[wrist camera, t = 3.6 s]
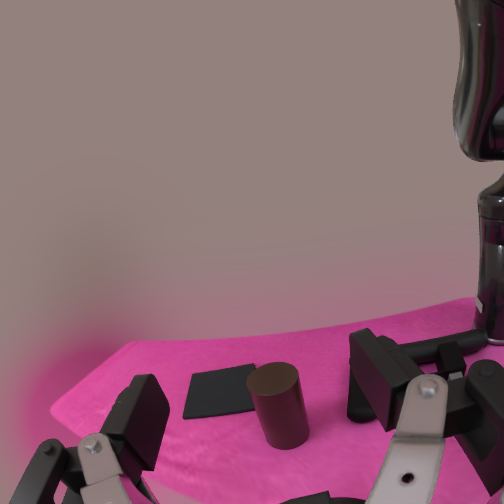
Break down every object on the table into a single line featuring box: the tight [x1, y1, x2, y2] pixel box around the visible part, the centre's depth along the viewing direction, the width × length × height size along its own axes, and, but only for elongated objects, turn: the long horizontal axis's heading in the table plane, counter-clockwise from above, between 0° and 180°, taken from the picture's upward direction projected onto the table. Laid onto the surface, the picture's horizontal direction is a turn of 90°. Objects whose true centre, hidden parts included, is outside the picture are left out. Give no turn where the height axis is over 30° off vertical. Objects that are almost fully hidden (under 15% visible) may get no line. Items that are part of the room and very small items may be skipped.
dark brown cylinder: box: [247, 362, 309, 450], centre depth 24 cm, size 5×5×9 cm
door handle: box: [347, 329, 488, 423], centre depth 23 cm, size 3×20×16 cm
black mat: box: [183, 363, 255, 419], centre depth 35 cm, size 10×10×1 cm
